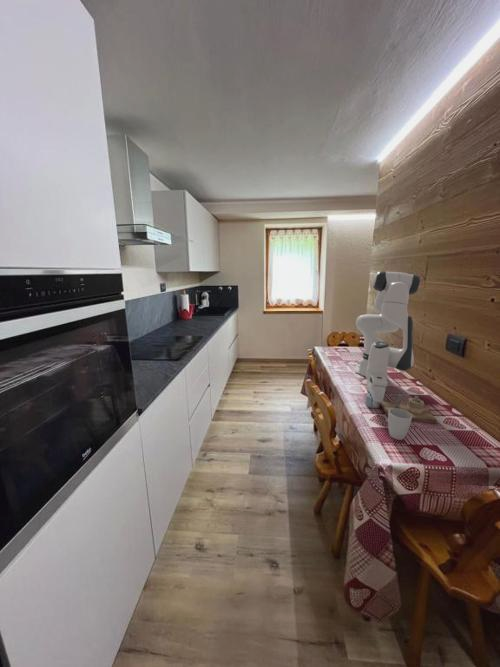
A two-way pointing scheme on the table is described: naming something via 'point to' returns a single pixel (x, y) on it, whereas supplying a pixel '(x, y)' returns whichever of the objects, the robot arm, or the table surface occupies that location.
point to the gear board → (414, 416)
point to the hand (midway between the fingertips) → (372, 401)
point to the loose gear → (370, 401)
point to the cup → (398, 423)
